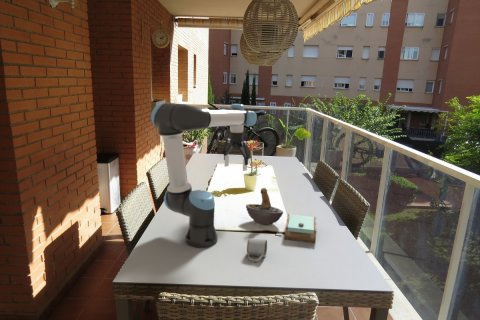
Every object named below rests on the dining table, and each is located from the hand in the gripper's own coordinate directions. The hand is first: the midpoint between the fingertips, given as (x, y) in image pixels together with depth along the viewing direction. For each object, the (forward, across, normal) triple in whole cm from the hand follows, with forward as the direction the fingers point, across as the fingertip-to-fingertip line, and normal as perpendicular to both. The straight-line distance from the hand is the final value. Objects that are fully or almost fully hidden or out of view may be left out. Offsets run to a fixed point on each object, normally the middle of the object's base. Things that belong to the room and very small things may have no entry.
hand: (235, 168), depth 200 cm
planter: (+26, -24, +4) cm, 35 cm away
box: (+25, -46, +2) cm, 52 cm away
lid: (+21, -46, +3) cm, 51 cm away
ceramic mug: (+26, -43, +36) cm, 62 cm away
